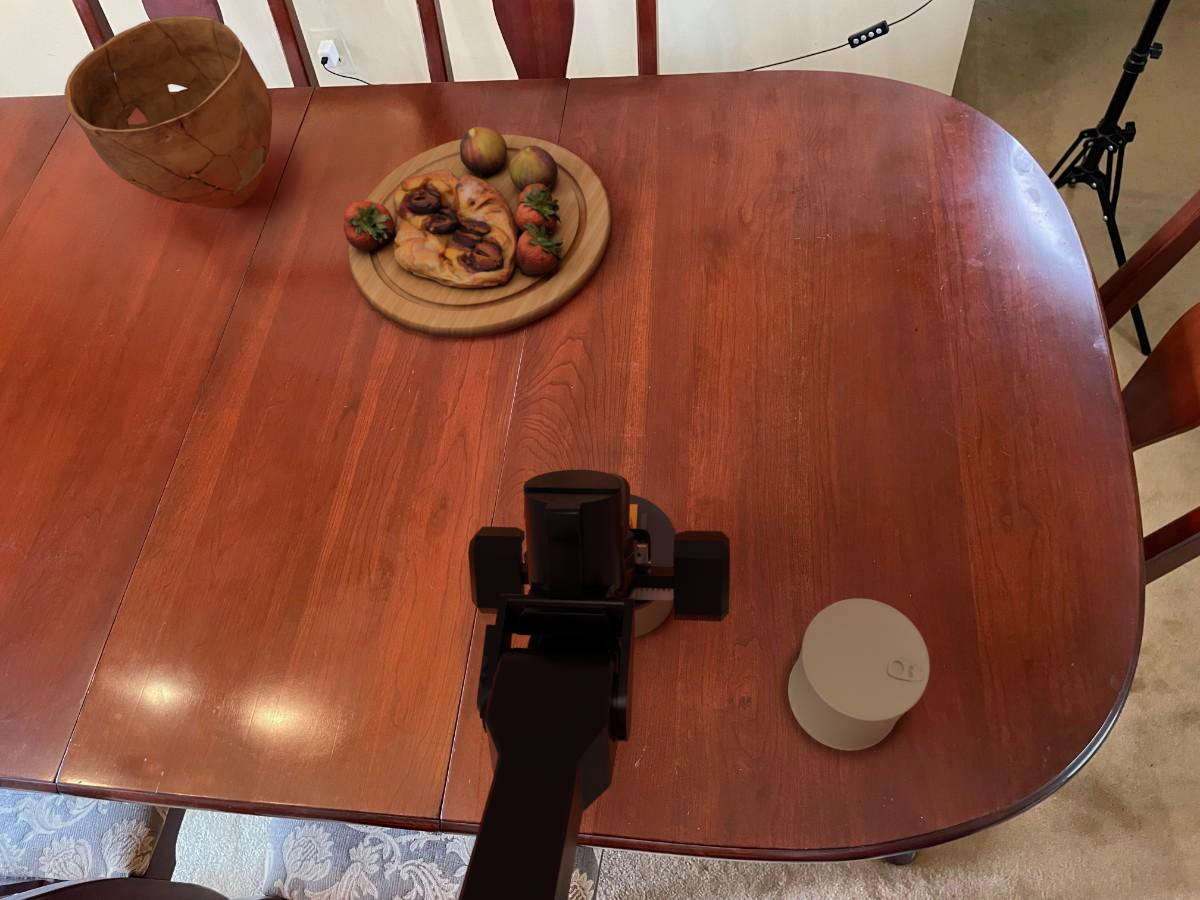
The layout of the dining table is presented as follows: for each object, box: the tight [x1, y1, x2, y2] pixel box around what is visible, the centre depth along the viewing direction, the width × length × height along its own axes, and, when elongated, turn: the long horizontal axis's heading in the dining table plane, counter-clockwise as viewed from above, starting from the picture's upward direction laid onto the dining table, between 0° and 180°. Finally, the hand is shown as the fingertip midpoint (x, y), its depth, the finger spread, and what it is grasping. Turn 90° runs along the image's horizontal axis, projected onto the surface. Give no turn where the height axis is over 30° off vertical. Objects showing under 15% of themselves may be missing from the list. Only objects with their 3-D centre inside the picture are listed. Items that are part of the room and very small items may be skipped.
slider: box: [630, 504, 638, 529], centre depth 71 cm, size 3×4×3 cm
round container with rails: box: [630, 493, 677, 638], centre depth 75 cm, size 11×11×9 cm
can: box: [787, 597, 931, 752], centre depth 67 cm, size 9×9×12 cm
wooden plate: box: [343, 125, 613, 338], centre depth 99 cm, size 32×32×8 cm
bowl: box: [63, 15, 273, 210], centre depth 102 cm, size 21×20×20 cm
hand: (612, 531), depth 69 cm, fingers closed, pressing on slider
